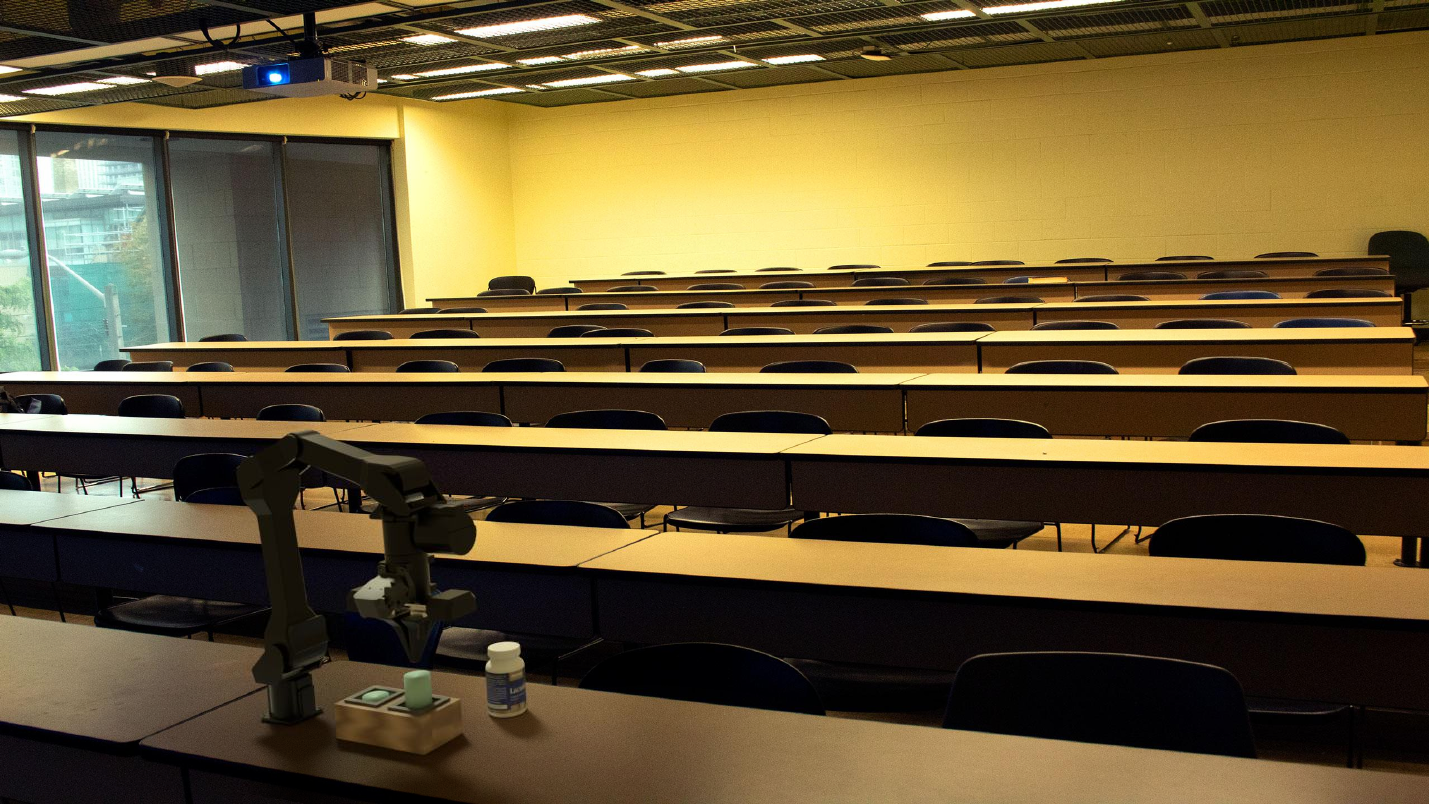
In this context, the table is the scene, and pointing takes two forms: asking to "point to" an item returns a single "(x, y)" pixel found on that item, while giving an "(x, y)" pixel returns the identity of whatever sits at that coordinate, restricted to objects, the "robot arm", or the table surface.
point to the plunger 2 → (418, 689)
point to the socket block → (398, 721)
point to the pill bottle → (505, 680)
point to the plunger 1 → (375, 696)
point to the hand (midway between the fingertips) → (415, 661)
